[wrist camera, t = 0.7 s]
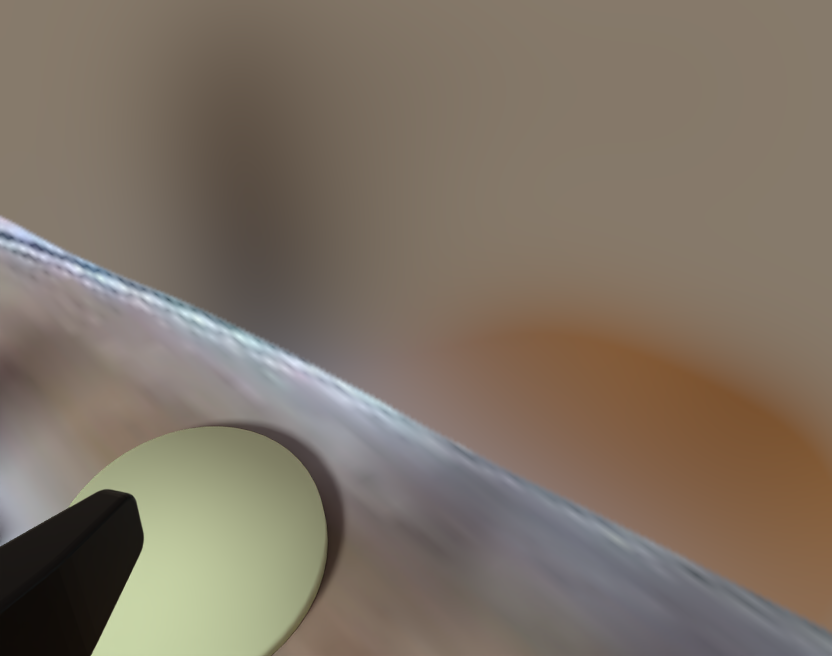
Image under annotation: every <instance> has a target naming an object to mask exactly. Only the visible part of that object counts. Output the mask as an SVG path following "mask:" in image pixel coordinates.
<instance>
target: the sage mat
mask: <svg viewBox="0 0 832 656" xmlns="http://www.w3.org/2000/svg"><path fill="white" fill-rule="evenodd" d="M103 489H112V490H116V491H121V492H126V493H129V494H132V495H133V496H134V498H135V499H136V502H137V506H138V510H139V515H140V519H141V523H142V528H143V532H144V543H143V548H142V551H141V554H140V556H139V558H138V560H137V562H136V564H135V566H134V568H133V570H132V572H131V575H130V577H129V579H128V581H127V583H126V585H125V587H124V589H123V591H122V593H121V595H120V597H119V600H118V602H117V604H116V606H115V608H114V610H113V612H112V614H111V616H110V618H109V620H108V622H107V625H106V627H105V629H104V631H103V633H102V635H101V637H100V639H99V641H98V643H97V645H96V647H95V649H94V651H93V653H92V655H91V656H272V655H273V654H274V653H275V652H276V651H277V650H278V649H279V648H280V647H281V646H282V645H283V644H284V643H285V642H286V641H287V640H288V638H289V637H290V636H291V635H292V634H293V632H294V631H295V630H296V629H297V628H298V626H299V625H300V623H301V621H302V620H303V618H304V617H305V615H306V614H307V612H308V611H309V609H310V607H311V605H312V603H313V601H314V599H315V597H316V595H317V592H318V589H319V587H320V584H321V581H322V578H323V574H324V570H325V565H326V560H327V549H328V534H327V524H326V519H325V514H324V510H323V506H322V501H321V498H320V495H319V492H318V490H317V487H316V484H315V483H314V481H313V479H312V477H311V476H310V474H309V472H308V471H307V469H306V468H305V467H304V466H303V464H302V463H301V462H300V460H298V459H297V458H296V457H295V456H294V455H293V454H292V453H291V452H290V451H289V450H287V449H286V448H285V447H283V446H282V445H280V444H279V443H277V442H275V441H273V440H271V439H269V438H268V437H266V436H263V435H260V434H258V433H255V432H252V431H248V430H243V429H239V428H232V427H221V426H215V427H198V428H190V429H185V430H181V431H176V432H172V433H169V434H166V435H163V436H160V437H157V438H154V439H152V440H150V441H148V442H145V443H143V444H141V445H139V446H137V447H135V448H134V449H132V450H130V451H128V452H127V453H125V454H123V455H122V456H120V457H119V458H117V459H116V460H115V461H113V462H112V463H110V464H109V465H108V466H107V467H105V468H104V469H103V470H102V471H101V472H99V473H98V474H97V475H96V476H95V477H94V478H93V479H92V480H91V481H90V482H89V483H88V484H87V485H86V486H85V487H84V488H83V489H82V490H81V492H80V493H79V494H78V495H77V497H76V498H75V499H74V500H73V502H72V503H71V504H70V506H69V507H71V506H73V505H74V504H76V503H78V502H80V501H82V500H83V499H85V498H87V497H89V496H90V495H92V494H94V493H96V492H98V491H100V490H103ZM69 507H68V508H69Z"/></svg>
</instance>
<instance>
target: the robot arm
mask: <svg viewBox="0 0 832 656" xmlns="http://www.w3.org/2000/svg"><path fill="white" fill-rule="evenodd" d="M143 543H144V532H143V528H142V523H141V519H140V515H139V510H138V506H137V502H136V499H135V498H134V496H133V495H132V494H129V493H126V492H121V491H116V490H112V489H103V490H100V491H98V492H96V493H94V494H92V495H90V496H89V497H87V498H85V499H83V500H82V501H80V502H78V503H76V504H74V505H73V506H71V507H69V508H67V509H66V510H64V511H62V512H60V513H59V514H57V515H55V516H53V517H52V518H50V519H48V520H46V521H44V522H43V523H41V524H39V525H37V526H36V527H34V528H32V529H30V530H29V531H27V532H25V533H23V534H21V535H20V536H18V537H16V538H14V539H13V540H11V541H9V542H7V543H6V544H4V545H2V546H0V656H91V655H92V653H93V651H94V649H95V647H96V645H97V643H98V641H99V639H100V637H101V635H102V633H103V631H104V629H105V627H106V625H107V622H108V620H109V618H110V616H111V614H112V612H113V610H114V608H115V606H116V604H117V602H118V600H119V597H120V595H121V593H122V591H123V589H124V587H125V585H126V583H127V581H128V579H129V577H130V575H131V572H132V570H133V568H134V566H135V564H136V562H137V560H138V558H139V556H140V554H141V551H142V548H143Z"/></svg>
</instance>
